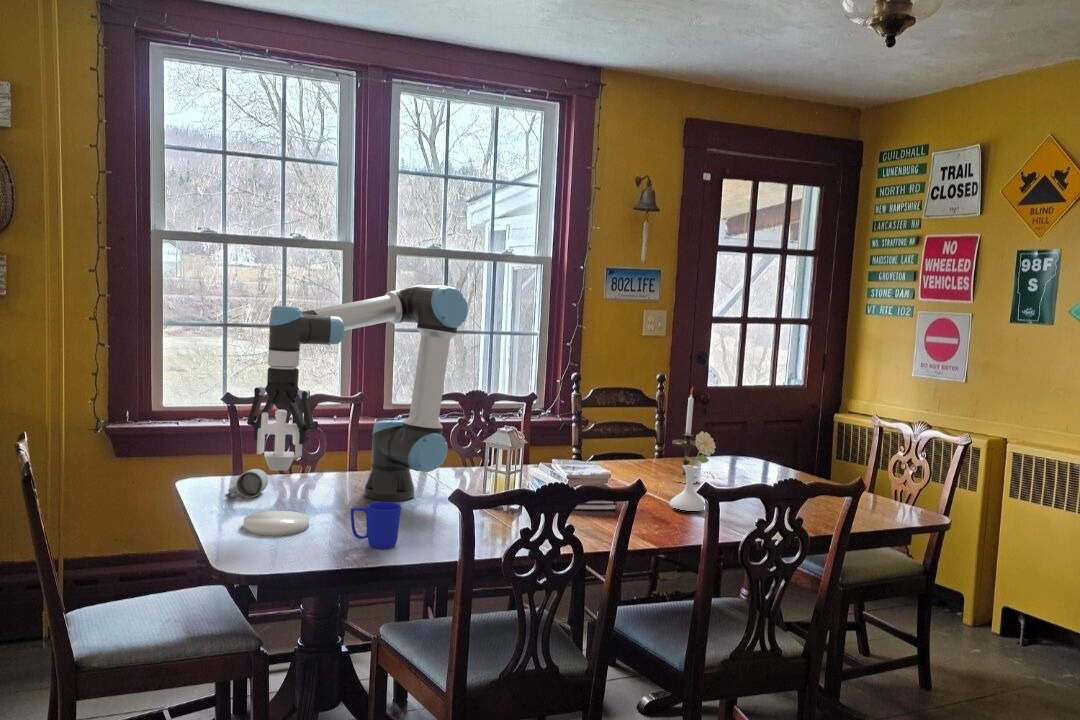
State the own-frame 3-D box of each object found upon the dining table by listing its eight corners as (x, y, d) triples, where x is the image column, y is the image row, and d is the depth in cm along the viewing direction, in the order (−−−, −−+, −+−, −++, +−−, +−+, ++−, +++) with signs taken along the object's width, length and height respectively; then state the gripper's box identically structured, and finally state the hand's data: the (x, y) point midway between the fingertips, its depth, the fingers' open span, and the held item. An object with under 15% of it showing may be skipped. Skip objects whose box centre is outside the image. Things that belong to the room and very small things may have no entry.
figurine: (298, 471, 210) (301, 412, 209) (259, 471, 207) (261, 411, 206) (297, 465, 217) (299, 408, 216) (258, 465, 214) (261, 407, 213)
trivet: (317, 521, 221) (318, 513, 220) (294, 538, 205) (295, 530, 205) (259, 516, 222) (259, 508, 222) (232, 532, 206) (232, 524, 206)
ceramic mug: (269, 491, 248) (269, 466, 248) (262, 498, 240) (263, 472, 240) (232, 490, 247) (233, 465, 247) (224, 497, 239) (225, 471, 239)
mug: (351, 539, 207) (353, 500, 206) (400, 541, 208) (402, 502, 207) (346, 549, 198) (348, 508, 198) (397, 551, 199) (400, 510, 199)
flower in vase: (676, 515, 253) (683, 433, 251) (663, 505, 264) (669, 427, 262) (716, 515, 256) (723, 435, 254) (702, 506, 267) (708, 428, 265)
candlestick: (702, 485, 298) (710, 388, 295) (672, 483, 298) (679, 386, 295) (696, 478, 309) (703, 385, 306) (667, 477, 309) (674, 383, 306)
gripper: (330, 369, 213) (326, 455, 215) (247, 363, 215) (244, 448, 217) (320, 371, 206) (315, 461, 207) (234, 365, 208) (231, 454, 209)
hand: (279, 455), depth 212 cm, fingers closed on figurine, 9 cm apart
